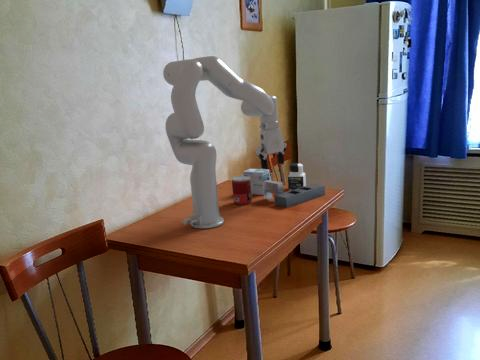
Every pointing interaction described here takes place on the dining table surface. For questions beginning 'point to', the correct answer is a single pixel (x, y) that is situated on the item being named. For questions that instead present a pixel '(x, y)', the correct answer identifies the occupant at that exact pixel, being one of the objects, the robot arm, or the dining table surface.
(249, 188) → the canned food
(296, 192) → the grey slotted block
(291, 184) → the medicine bottle
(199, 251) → the dining table surface
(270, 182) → the clip
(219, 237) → the dining table surface
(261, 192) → the light bulb box
